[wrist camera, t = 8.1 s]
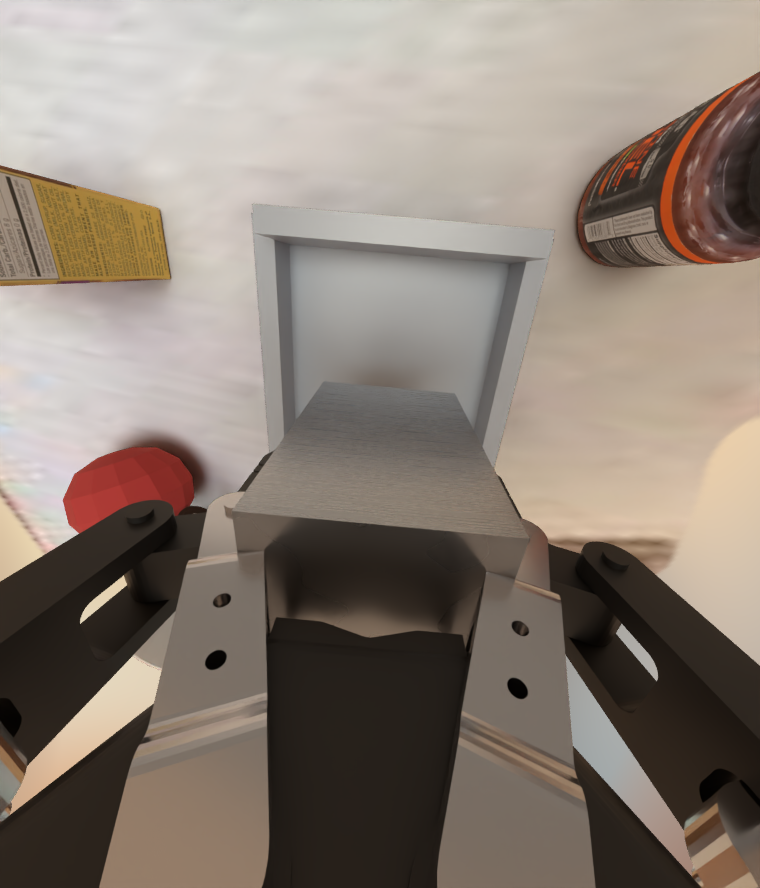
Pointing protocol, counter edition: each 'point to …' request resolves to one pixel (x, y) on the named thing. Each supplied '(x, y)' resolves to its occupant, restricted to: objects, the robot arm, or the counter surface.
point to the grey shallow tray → (394, 308)
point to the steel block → (380, 514)
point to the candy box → (75, 234)
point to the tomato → (126, 484)
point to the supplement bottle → (682, 190)
